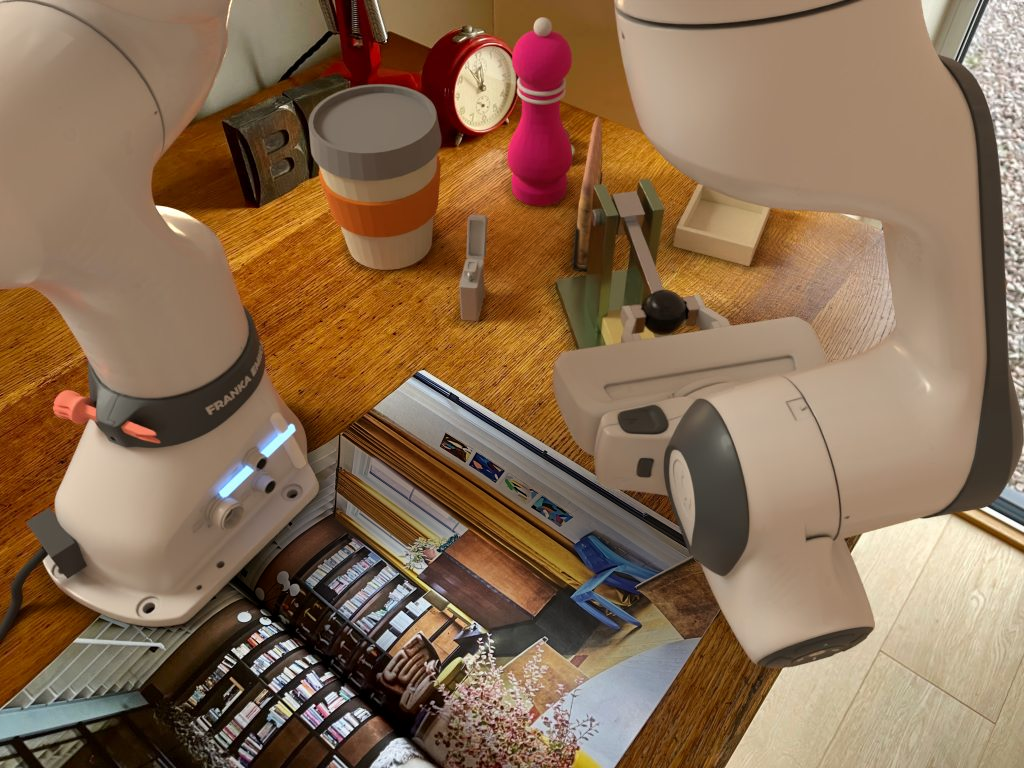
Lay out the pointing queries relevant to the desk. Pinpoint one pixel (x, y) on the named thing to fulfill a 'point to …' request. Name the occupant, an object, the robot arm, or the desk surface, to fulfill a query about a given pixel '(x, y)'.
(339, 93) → the reusable coffee cup
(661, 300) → the lever
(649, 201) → the slicer
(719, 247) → the butter dish
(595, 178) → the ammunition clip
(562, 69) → the pepper mill
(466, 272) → the lighter
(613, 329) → the butter slab
